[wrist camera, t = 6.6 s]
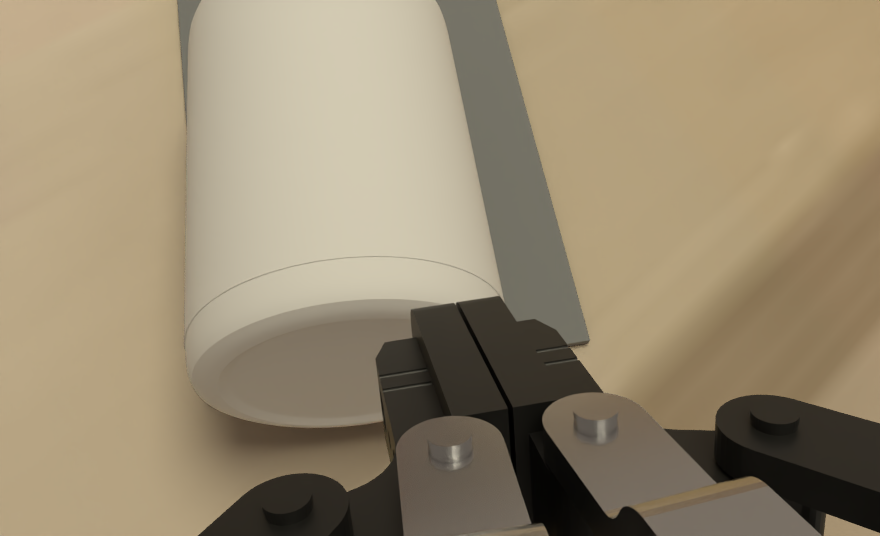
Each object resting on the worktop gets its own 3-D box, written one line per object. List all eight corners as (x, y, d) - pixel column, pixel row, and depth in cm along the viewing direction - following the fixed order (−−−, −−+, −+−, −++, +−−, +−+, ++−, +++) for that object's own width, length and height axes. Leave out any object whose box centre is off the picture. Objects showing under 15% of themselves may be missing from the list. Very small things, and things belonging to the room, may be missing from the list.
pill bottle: (138, 323, 16) (160, -139, 23) (220, 452, 22) (216, 64, 30) (538, 279, 16) (432, -153, 24) (498, 416, 23) (426, 47, 31)
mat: (587, 343, 26) (589, 340, 26) (208, 404, 24) (206, 401, 24) (474, -67, 33) (475, -73, 33) (175, -42, 31) (174, -47, 31)
